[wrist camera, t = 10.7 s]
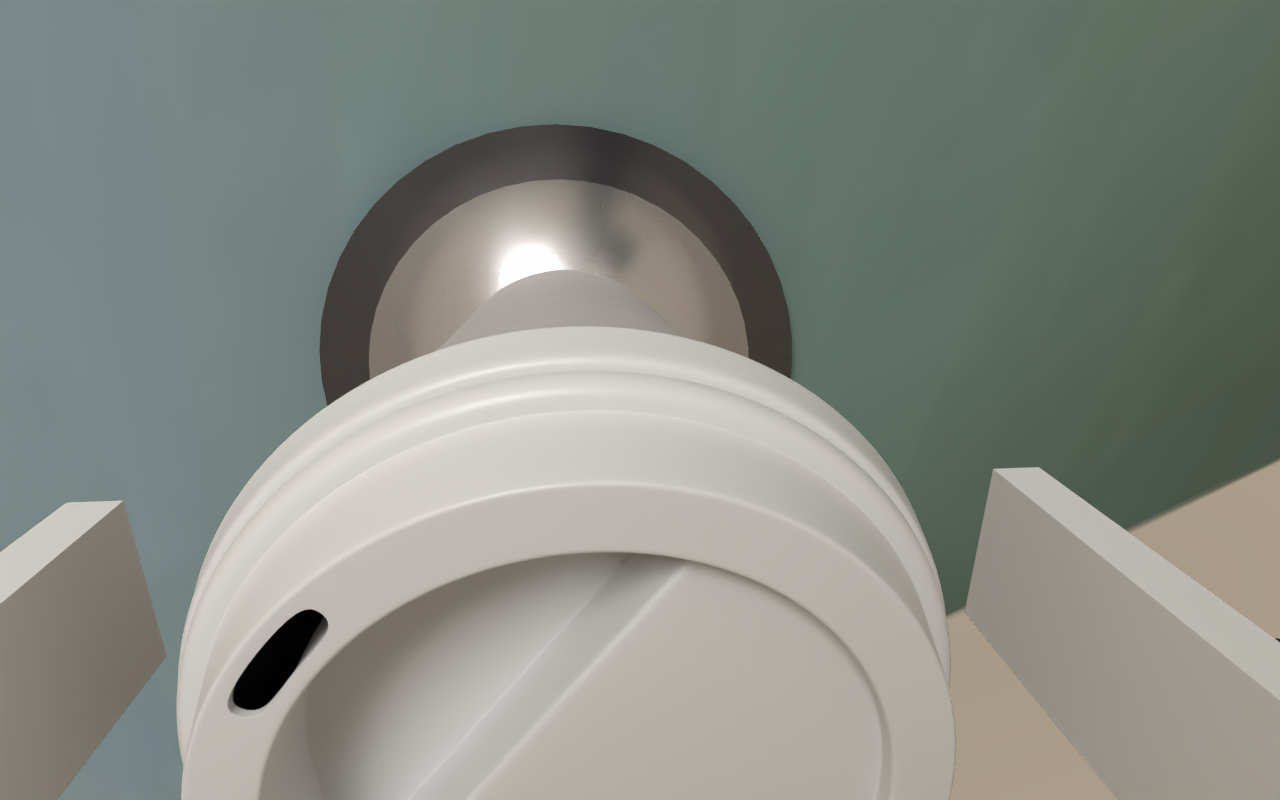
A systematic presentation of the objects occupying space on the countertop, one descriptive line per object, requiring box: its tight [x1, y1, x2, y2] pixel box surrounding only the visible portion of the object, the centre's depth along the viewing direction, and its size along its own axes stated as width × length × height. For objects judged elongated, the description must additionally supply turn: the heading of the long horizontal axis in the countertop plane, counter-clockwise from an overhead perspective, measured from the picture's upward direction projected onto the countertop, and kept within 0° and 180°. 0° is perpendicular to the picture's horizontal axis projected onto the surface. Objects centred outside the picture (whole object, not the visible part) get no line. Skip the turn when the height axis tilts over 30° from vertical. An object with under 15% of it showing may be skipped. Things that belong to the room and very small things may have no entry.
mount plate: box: [320, 124, 792, 405], centre depth 22 cm, size 14×14×1 cm
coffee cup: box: [177, 269, 956, 800], centre depth 14 cm, size 10×10×15 cm
